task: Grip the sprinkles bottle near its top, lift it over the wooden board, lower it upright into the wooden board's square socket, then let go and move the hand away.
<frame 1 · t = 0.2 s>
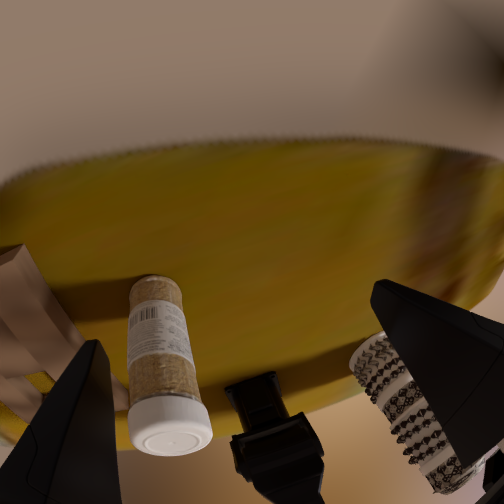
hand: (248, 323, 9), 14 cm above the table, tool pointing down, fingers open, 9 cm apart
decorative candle: (372, 350, 39), on the table
sprinkles bottle: (155, 293, 24), on the table
wooden board: (22, 350, 22), on the table
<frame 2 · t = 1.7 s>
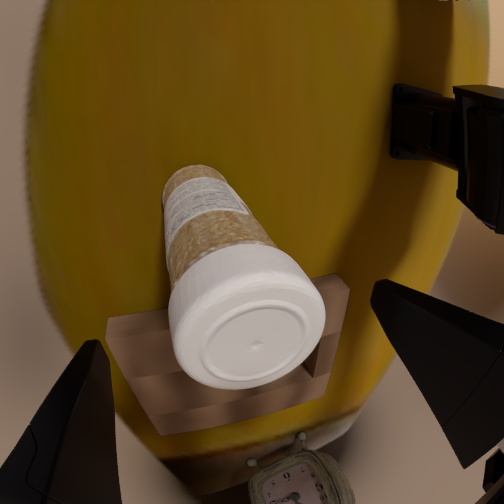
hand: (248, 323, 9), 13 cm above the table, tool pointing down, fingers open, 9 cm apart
sprinkles bottle: (194, 195, 19), on the table
wooden board: (234, 361, 28), on the table
tabletop clock: (281, 447, 44), on the table
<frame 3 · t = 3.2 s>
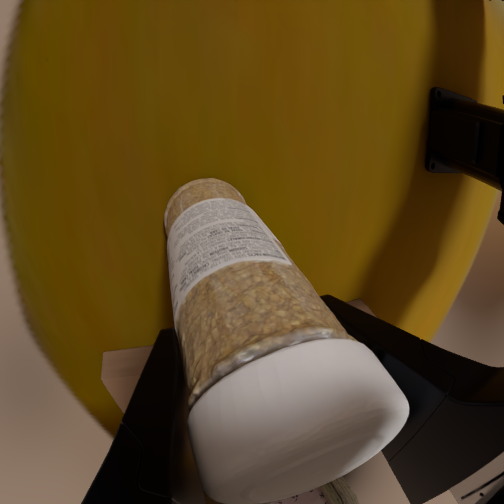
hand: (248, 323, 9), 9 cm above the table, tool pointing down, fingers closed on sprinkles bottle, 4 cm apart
sprinkles bottle: (204, 214, 16), on the table, touching gripper
wooden board: (245, 392, 25), on the table
tabletop clock: (288, 464, 41), on the table
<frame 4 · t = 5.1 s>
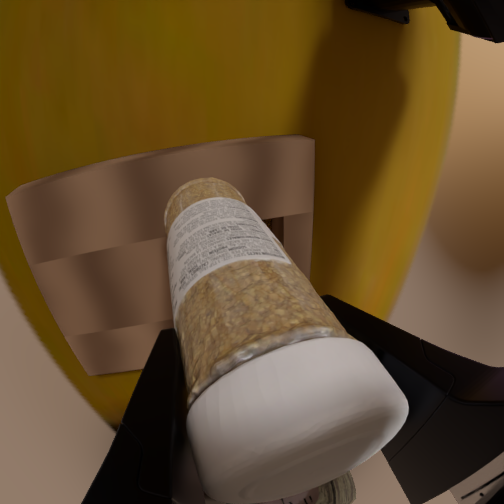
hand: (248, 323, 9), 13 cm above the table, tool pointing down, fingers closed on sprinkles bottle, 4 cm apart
sprinkles bottle: (204, 214, 16), point 4 cm above the table, touching gripper
wooden board: (172, 261, 22), on the table
tabletop clock: (263, 420, 38), on the table
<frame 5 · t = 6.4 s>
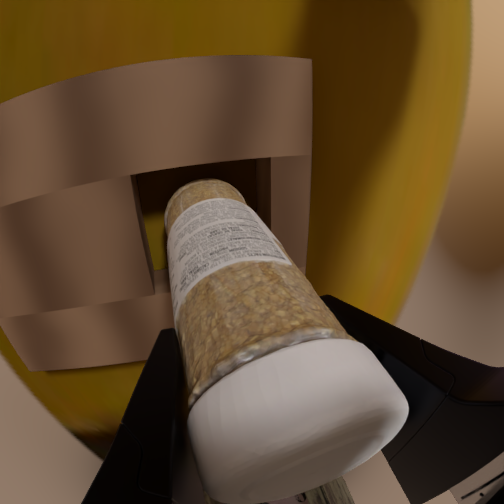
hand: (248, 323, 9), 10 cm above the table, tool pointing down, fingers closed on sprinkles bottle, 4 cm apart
sprinkles bottle: (204, 214, 16), point 1 cm above the table, touching gripper
wooden board: (123, 224, 16), on the table
tabletop clock: (250, 434, 32), on the table
when the fingers open (9 cm above the table, at t = 7.1 s): sprinkles bottle stays where it is, resting in wooden board.
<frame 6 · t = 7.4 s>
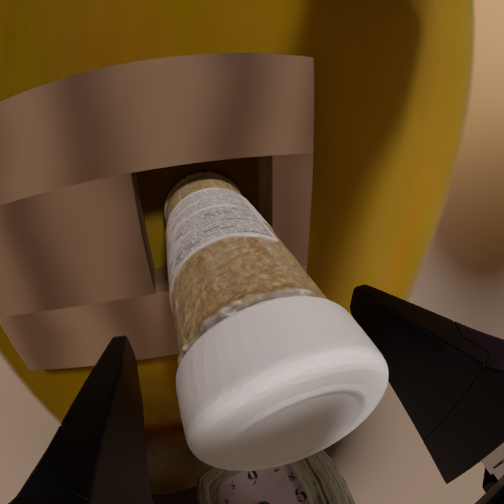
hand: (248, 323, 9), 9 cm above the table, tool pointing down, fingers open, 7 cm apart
sprinkles bottle: (202, 207, 17), resting in wooden board
wooden board: (124, 223, 15), on the table
tabletop clock: (250, 433, 32), on the table
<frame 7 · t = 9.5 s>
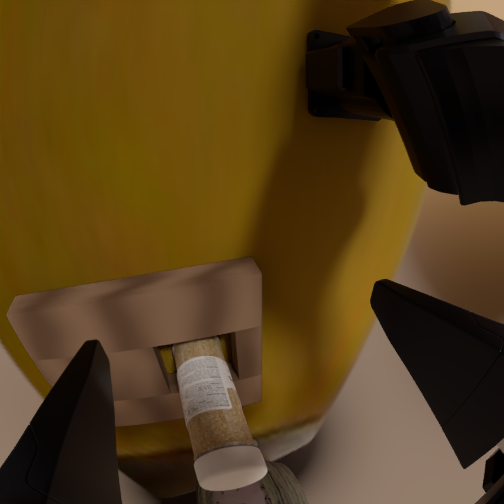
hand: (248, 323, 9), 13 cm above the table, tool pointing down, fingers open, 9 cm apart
sprinkles bottle: (195, 343, 26), resting in wooden board
wooden board: (147, 354, 24), on the table
tabletop clock: (235, 453, 40), on the table
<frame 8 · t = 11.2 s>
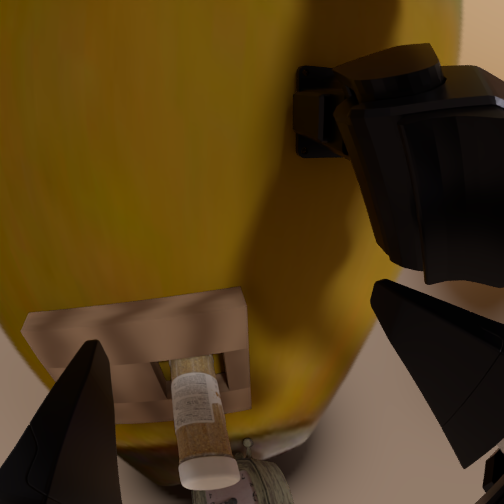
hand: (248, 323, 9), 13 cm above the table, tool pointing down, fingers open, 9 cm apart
sprinkles bottle: (190, 356, 28), resting in wooden board
wooden board: (147, 364, 27), on the table
tabletop clock: (231, 450, 44), on the table
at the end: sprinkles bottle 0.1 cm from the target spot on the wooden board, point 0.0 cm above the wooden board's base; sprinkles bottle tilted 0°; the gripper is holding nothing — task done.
